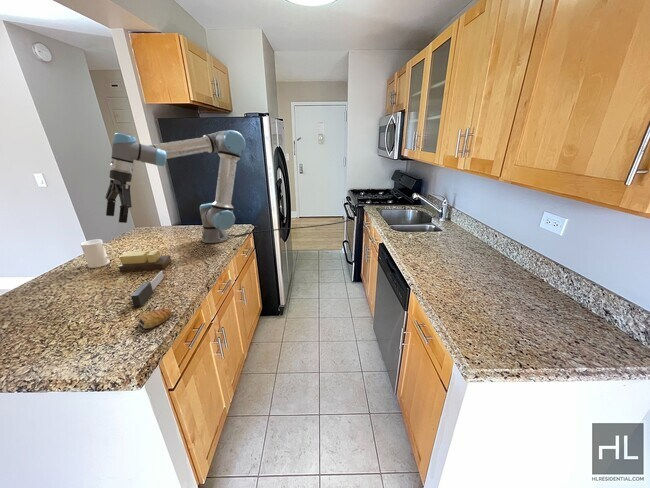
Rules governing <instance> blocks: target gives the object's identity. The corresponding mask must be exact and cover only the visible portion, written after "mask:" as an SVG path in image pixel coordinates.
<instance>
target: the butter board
mask: <svg viewBox="0 0 650 488" xmlns="http://www.w3.org/2000/svg"><path fill="white" fill-rule="evenodd" d="M170 262H172V257H171V255H170V254H169V255H160V258H159V259H158V260H157V261H156V262H152V263H149V262H148V260H147V261H146V262H145V263H135V264H122V263H120V264H119V265H117V266H118V270H119V272H120V273H126V272H127V273H128V272H139V271H155V270H157V271H158V270H164V269H165V268H166V267H167V266H168V265H169V264H170Z"/></svg>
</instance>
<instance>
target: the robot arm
mask: <svg viewBox="0 0 650 488" xmlns="http://www.w3.org/2000/svg"><path fill="white" fill-rule="evenodd" d="M246 146H247V143H246V140H245V138H244V136H243V134H241V132H239V131H236V130H233V129H228V130H220V131H216V132H213V133H210V134H204V135H202V137H195V138H191V139H190V138H188V139H183V140H174V141H169V142H161V143H156V144H155V143H154V144H149V145H147V144H143V143H142V144H141V143H139V142H137V138H136V137H135V136H132V135H129V134H125V133H121V132H115V133H114V134H113V139H112V147H111V160H110V161H109V164H110V170H109V175H108V176H109V178H110V180H109V185H108V189H107V191H106V195H105V198H104V199H106V210H105V211H106V212H105V216H107V217H115V211H116V210H115V209H116V202H117V200H116V199H117V198H118V197H119V201H120V206H119V216H118V223H122V224H124V223H126V224H127V223H128V216H129V209H130V208H132V207H133V206H132V198H131V197H132V196H131V184H127V183H131V182H132V178H133V174H132V173H133V171H134V161H137V162H141V163H145V164H150V165H154V166H160V167H164V166H165V165H166V164H167V160H169V159H174V158H175V159H176V158H179V157H186V156H190V155H191V156H192V155H196V154H197V155H198V154H202V153H209V154H212V153H213V154H214V153H217V155H218V156H219V165H218V174H217V182H216V190H215V200H214V201H213V202H208V203H203V204H200V205H199V214H200V218H201V223H202V229H203V230H202V232H201V241H202V243H204V244H219V243H223V242H225V241H227V240H228V239H229V237H241V236H245V235H250V234H256V233H266V232H275V231H285V230H296V229H306V228H318V227H325V226H331V225H338V224H344V223H346V222H350V223H351V222H352V221H351V219H345V220H344V221H338V222H332V223H326V224H316V225H308V226H296V227H287V228H286V227H285V228H284V227H283V228H275V229H265V230H258V231H249V232H244V233H241V234H229V233H228V232H227V230H229V229H231V228H233V226H234V225H235V223H236V215H235V214H234V206H233V205H232V200H233V193H234V187H235V186H234V185H235V179H236V172H237V165H238V164H237V162H238V161H240V160H241V155H242V153H243V152H245V150H246Z"/></svg>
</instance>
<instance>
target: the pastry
mask: <svg viewBox="0 0 650 488" xmlns="http://www.w3.org/2000/svg"><path fill="white" fill-rule="evenodd" d="M172 314H173V313H172V310H171V309H170V308H159V309H155V310H150V311H148V312H145V313H143V315H140V316H139V317H138V323H139V325H140V327H142V328H143V329H147V330H148V329H152V328H155V327H157V326H159V325H161V324H162V323H164V322H166V321H167V320H169V319H170V317H171V316H172Z"/></svg>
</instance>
